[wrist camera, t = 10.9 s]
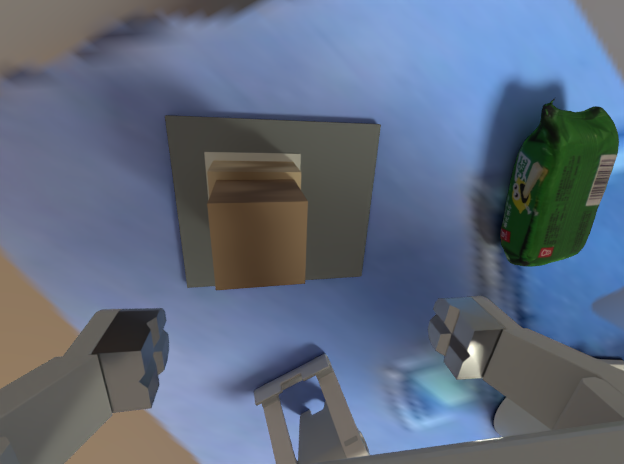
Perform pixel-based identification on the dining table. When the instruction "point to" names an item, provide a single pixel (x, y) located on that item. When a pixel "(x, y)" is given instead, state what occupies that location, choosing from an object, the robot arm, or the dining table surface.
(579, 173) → the snack package
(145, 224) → the dining table surface
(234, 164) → the oak base block
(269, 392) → the portable electronic device stand
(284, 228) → the walnut cube
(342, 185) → the mat
